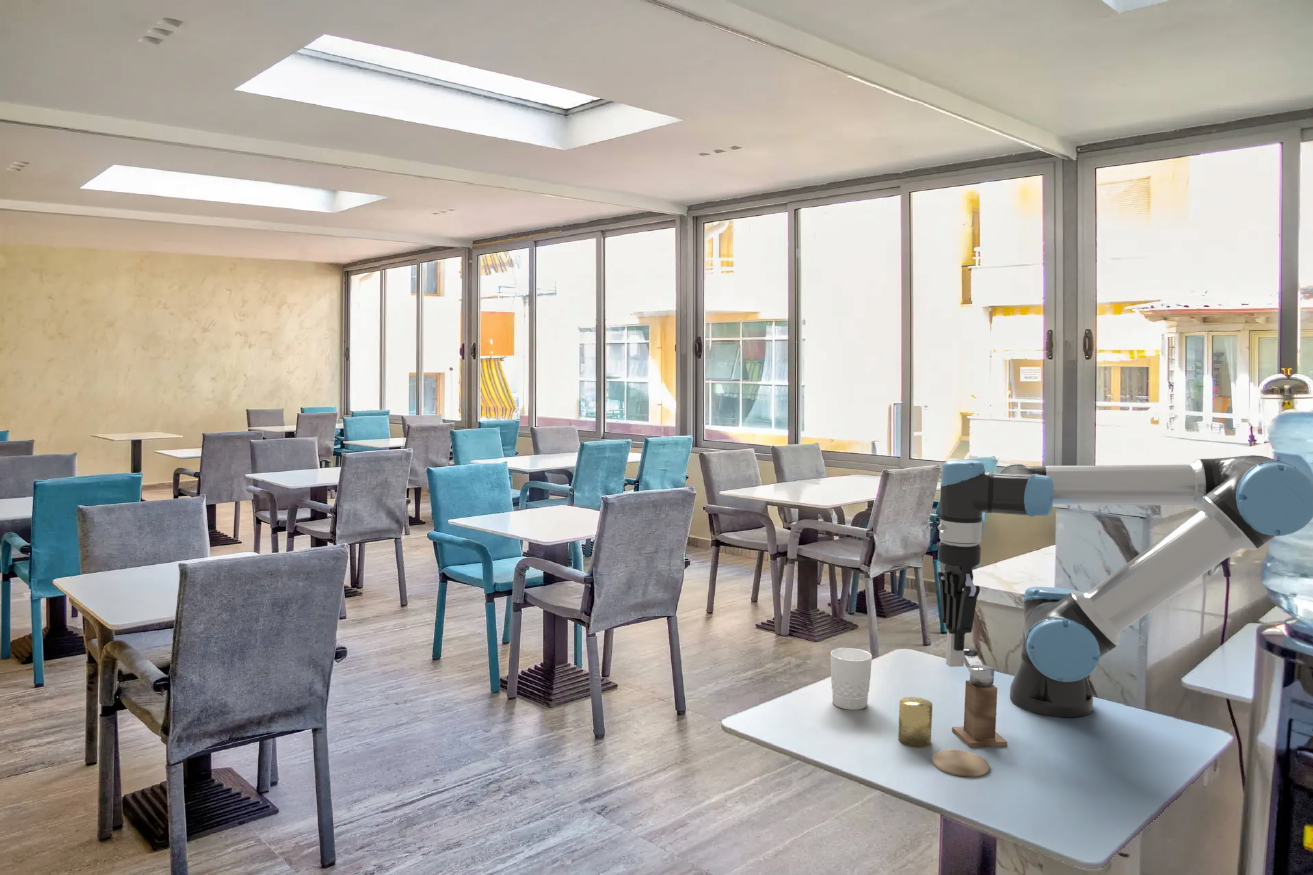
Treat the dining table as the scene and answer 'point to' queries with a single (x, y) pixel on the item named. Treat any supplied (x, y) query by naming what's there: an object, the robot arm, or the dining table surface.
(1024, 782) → the dining table surface
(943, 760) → the coaster
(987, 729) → the post
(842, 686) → the white cup
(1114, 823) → the dining table surface
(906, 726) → the brass cylinder
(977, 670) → the lever
